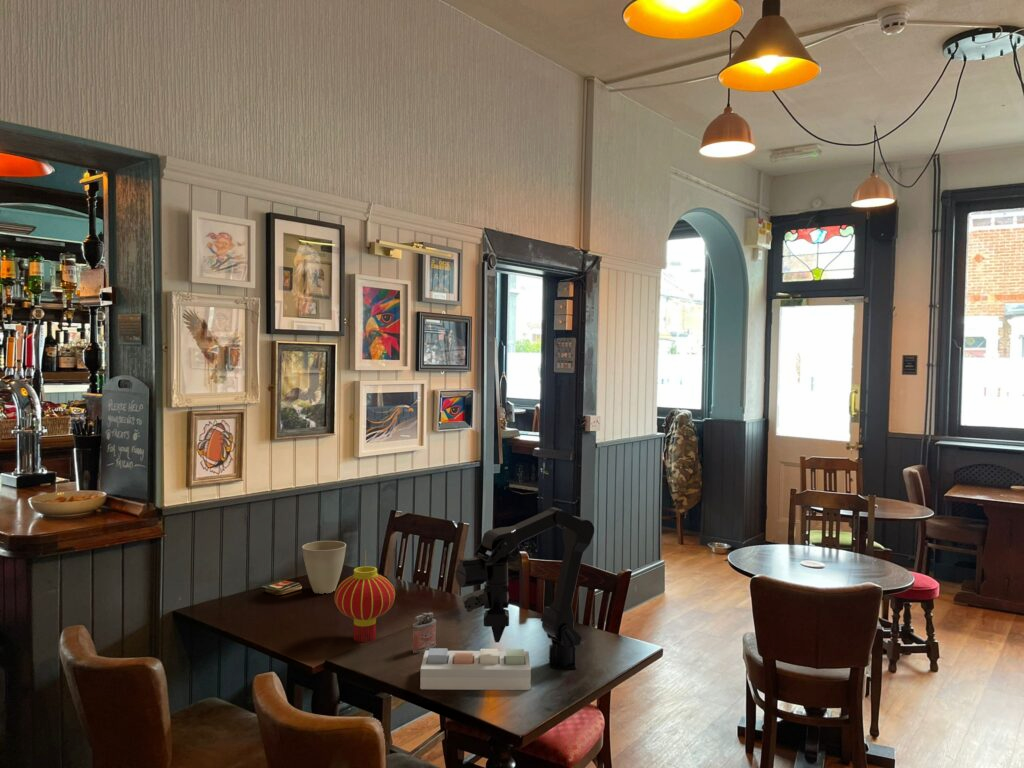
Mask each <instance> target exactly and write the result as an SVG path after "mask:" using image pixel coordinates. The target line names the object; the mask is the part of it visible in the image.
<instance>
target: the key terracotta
mask: <svg viewBox="0 0 1024 768" xmlns="http://www.w3.org/2000/svg"><path fill="white" fill-rule="evenodd" d="M454 664H473V653H455V656H454Z"/></svg>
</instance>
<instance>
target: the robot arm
mask: <svg viewBox="0 0 1024 768" xmlns="http://www.w3.org/2000/svg"><path fill="white" fill-rule="evenodd" d="M554 527H559V528H560V529H562V541H563V545H564V552H563V556H562V560H561V561H562V562H561V565H560V570H559V575H558V578H557V583H556V589H555V594H554V598H553V601H552V602H551V604H550V605H549V606H544V607H543V612H542V616H541V619H540V622H541V628H542V629H543V631H544V632H545V633H546V636H547V638H548V639H550V640H551V644H549V645H548V662H549V664H550V666H551V669H563V670H565V669H570V670H572V669H573V670H575V669H577V665H576V664H577V663H576V652H577V651H576V650H577V649H576V648H577V646H580V644H581V641H582V636H581V635H580V634H579V633H578V632H577V631H576V630H575V629H574V628H575V627H574V625H575V618H574V612H573V608H572V607H573V601H574V595H575V592H576V586H577V582H578V576H579V572H580V568H581V563H582V559H583V554H584V552H585V551H586V550H587V548H589V546H590V545H591V542H592V540H593V537H594V535H595V526H594V524H593V522H592V521H590V520H588V519H586V518H583V517H579V516H576V515H571V514H569V513H567V512H565V511H564V510H562V509H559V508H557V507H554V506H553V507H549V508H547V509H546V510H544V511H542V512H540V513H538V514H535V515H533V516H531V517H529V518H527V519H524V520H522V521H519V522H518V523H516V524H514V525H510V526H502V527H501V526H500V527H497V528H493V529H489V530H486V532H485V533H483V536H482V539H481V542H480V543H479V545H478V547H477V548H476V550H475V551H474V553H473V557H469V558H460V559H459V564H457V566H456V570H455V579H456V583H457V584H458V586H459V587H460V588H467V587H475V586H478V585H479V586H480V585H483V584H484V587H483V588H482V589H478V590H475V591H472V592H470V593H467V594H464V596H463V598H462V602H463V606H464V608H465V610H466V613H471V612H473V611H474V610H477V609H479V608H481V607H483V610H485V611H484V613H483V626H484V627H487V628H488V627H491V631H492V635H493V641H494V643H500V640H501V638H502V636H503V634H504V631H505V628H506V627H509V626H510V613H509V610H508V608H509V605H510V595H509V564H511V563H515V562H516V559H515V558H514V557H513V556H512V555H511V553H512V552H513V551H515V550H516V549H517V547H518V546H519V545H520V544H521V543H522V542H524V541H525V540H528V539H531V538H533V537H535V536H537V535H538V534H541V533H543V532H546V531H548V530H550V529H552V528H554ZM488 553H489V554H488Z"/></svg>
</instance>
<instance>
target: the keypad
mask: <svg viewBox="0 0 1024 768" xmlns="http://www.w3.org/2000/svg"><path fill="white" fill-rule="evenodd" d="M423 653H424V654H423V657H422V661H421V662H422V663H421V666H420V680H419V681H420V686H419V687H420V690H460V691H461V690H469V691H470V690H476V691H477V690H478V691H479V690H480V691H484V690H485V691H487V690H489V691H494V690H495V691H509V690H510V691H531V681H532V680H531V674H532V673H531V671H532V670H531V668H532V667H531V663H530V662H531V661H530V652H529V651H527V650H524V665H506V650H498V664H480V650H448V657H447V664H428V653H429V650H425V652H423ZM455 653H473V664H454V656H455Z"/></svg>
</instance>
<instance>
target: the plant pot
mask: <svg viewBox="0 0 1024 768" xmlns="http://www.w3.org/2000/svg"><path fill="white" fill-rule="evenodd" d="M301 549H302V555H303V560H304V565H305V570H306V574H307V578H308V581H309V584H310V586H311V590H312V591H313V593H315V594H318V593H319V594H321V595H325V594H324V593H326V594H330V593H331V594H332V593H333V591H334V592H336V590H337V586H338V583H339V581H340V577H341V574H342V571H343V567H344V561H345V557H346V551H347V550H346V549H347V544H346V543H345V542H343V541H340V540H318V541H313V542H308V543H305V544H303V545H302V546H301ZM319 594H318V595H319Z"/></svg>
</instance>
